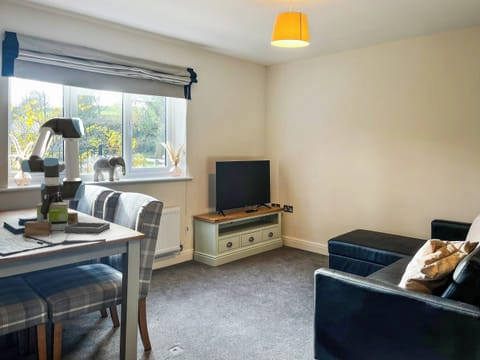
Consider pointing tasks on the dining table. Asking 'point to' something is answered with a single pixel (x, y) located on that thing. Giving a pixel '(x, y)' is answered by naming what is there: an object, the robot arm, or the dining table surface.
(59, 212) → the tea box
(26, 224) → the block
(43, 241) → the dining table surface
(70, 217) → the block
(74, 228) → the tray
